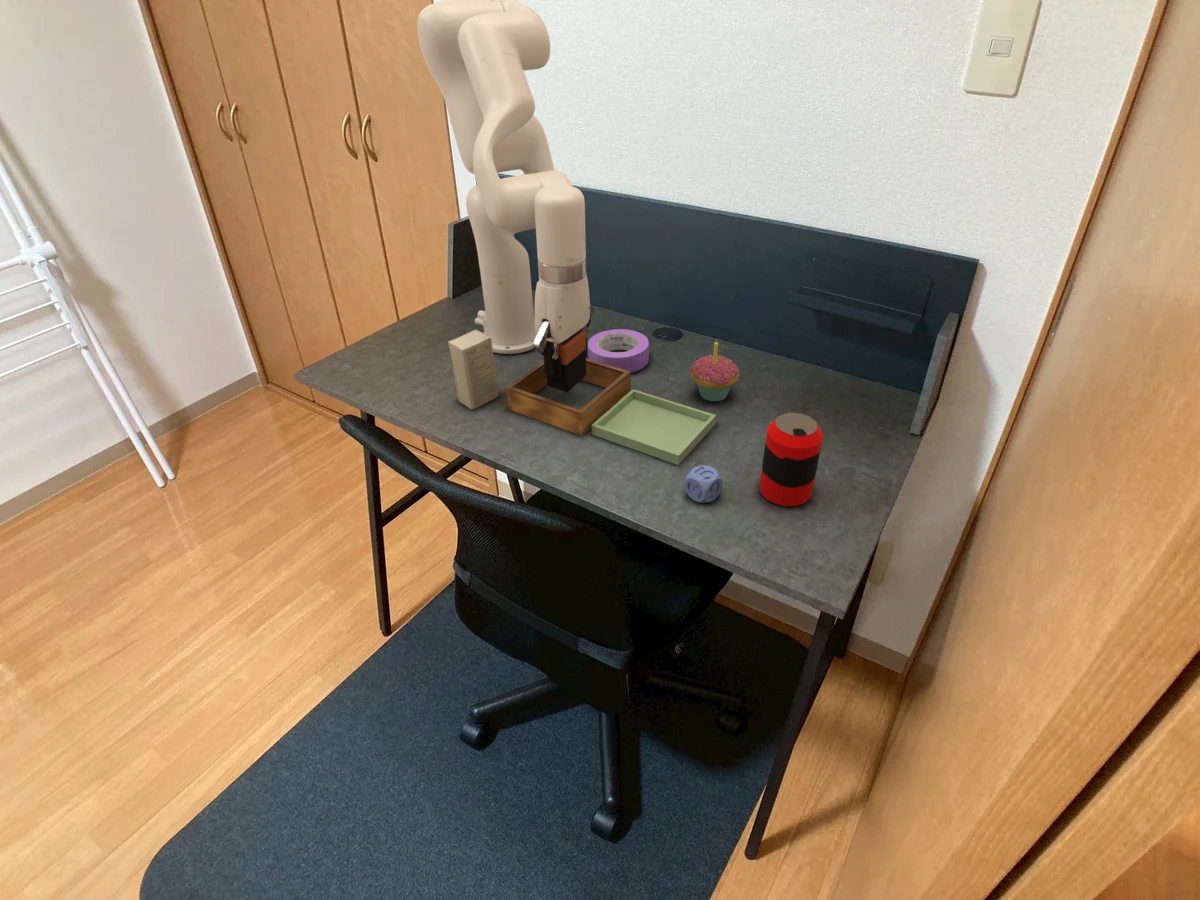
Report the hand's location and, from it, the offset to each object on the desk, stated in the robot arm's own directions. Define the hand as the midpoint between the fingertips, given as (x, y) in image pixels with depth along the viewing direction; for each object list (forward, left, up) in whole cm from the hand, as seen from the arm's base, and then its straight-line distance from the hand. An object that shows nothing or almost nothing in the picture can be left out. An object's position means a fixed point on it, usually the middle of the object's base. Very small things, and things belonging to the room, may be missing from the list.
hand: (566, 365), depth 124 cm
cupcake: (+21, +15, -7) cm, 27 cm away
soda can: (+42, -4, -7) cm, 43 cm away
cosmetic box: (-14, -8, -7) cm, 18 cm away
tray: (+18, 0, -7) cm, 19 cm away
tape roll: (0, +17, -7) cm, 18 cm away
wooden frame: (+1, 0, -7) cm, 7 cm away
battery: (0, 0, -4) cm, 4 cm away
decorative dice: (+32, -11, -7) cm, 35 cm away
